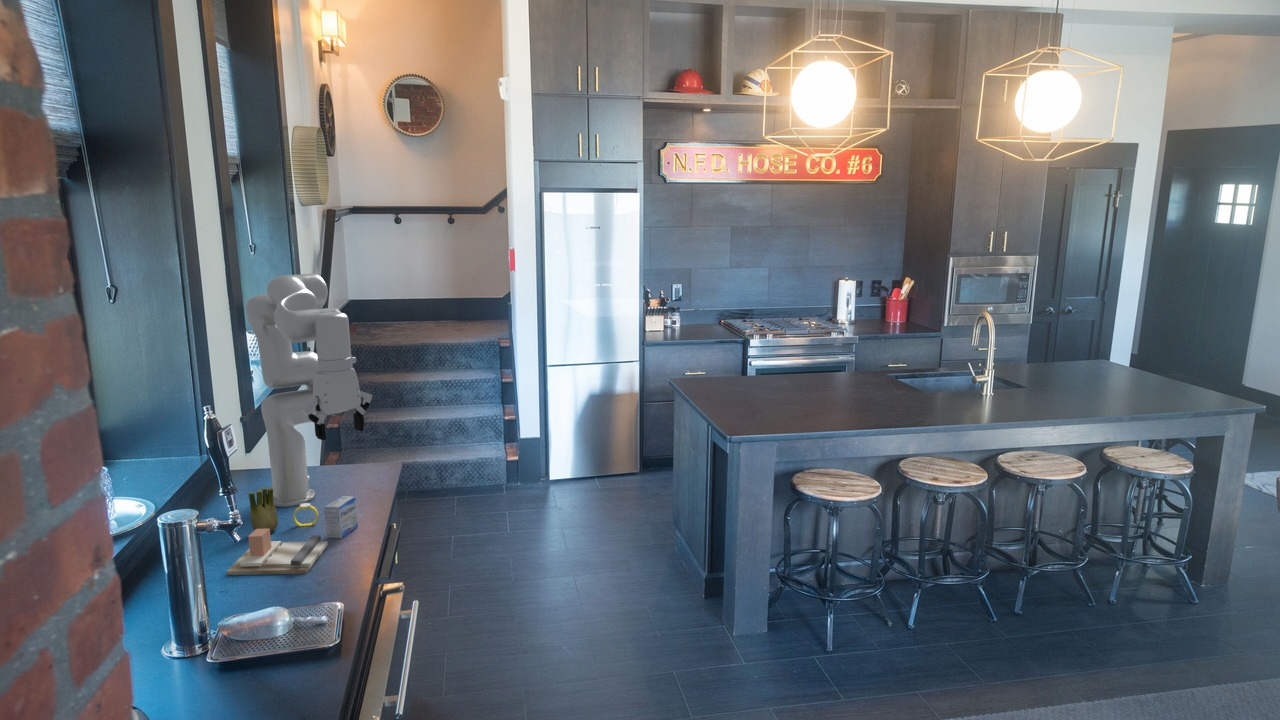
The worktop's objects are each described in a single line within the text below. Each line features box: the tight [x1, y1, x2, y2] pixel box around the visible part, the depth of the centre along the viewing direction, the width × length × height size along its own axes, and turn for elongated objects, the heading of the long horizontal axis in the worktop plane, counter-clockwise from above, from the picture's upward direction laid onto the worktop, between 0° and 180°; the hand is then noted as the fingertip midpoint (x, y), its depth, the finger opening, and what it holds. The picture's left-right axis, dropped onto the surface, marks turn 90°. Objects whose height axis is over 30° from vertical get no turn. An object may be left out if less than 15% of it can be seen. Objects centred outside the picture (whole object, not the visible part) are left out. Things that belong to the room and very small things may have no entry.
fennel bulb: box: [248, 487, 279, 534], centre depth 204 cm, size 6×5×12 cm
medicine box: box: [323, 495, 359, 539], centre depth 204 cm, size 8×4×9 cm, turn 168°
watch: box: [292, 502, 319, 528], centre depth 209 cm, size 6×3×6 cm, turn 108°
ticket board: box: [226, 535, 329, 576], centre depth 189 cm, size 15×18×3 cm
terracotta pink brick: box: [240, 529, 282, 567], centre depth 188 cm, size 12×5×6 cm, turn 3°
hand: (340, 434), depth 189 cm, fingers open, 9 cm apart
